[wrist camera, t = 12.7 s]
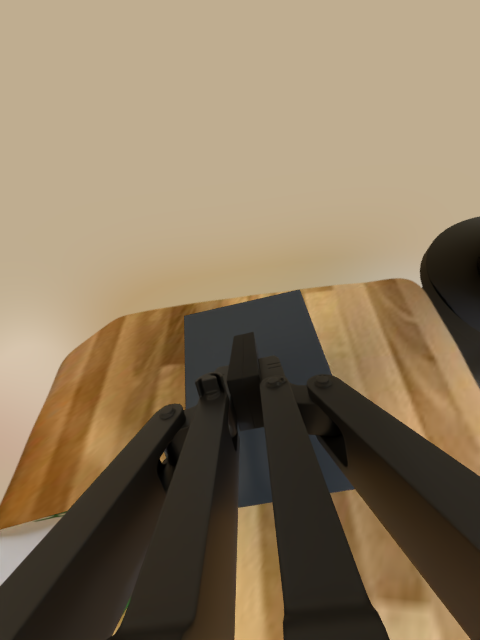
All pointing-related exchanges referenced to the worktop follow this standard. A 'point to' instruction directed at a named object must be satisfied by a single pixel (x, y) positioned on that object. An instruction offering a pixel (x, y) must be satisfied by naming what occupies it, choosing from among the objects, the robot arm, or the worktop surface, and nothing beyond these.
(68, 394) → the worktop surface
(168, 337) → the worktop surface
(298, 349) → the lid
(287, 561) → the robot arm
